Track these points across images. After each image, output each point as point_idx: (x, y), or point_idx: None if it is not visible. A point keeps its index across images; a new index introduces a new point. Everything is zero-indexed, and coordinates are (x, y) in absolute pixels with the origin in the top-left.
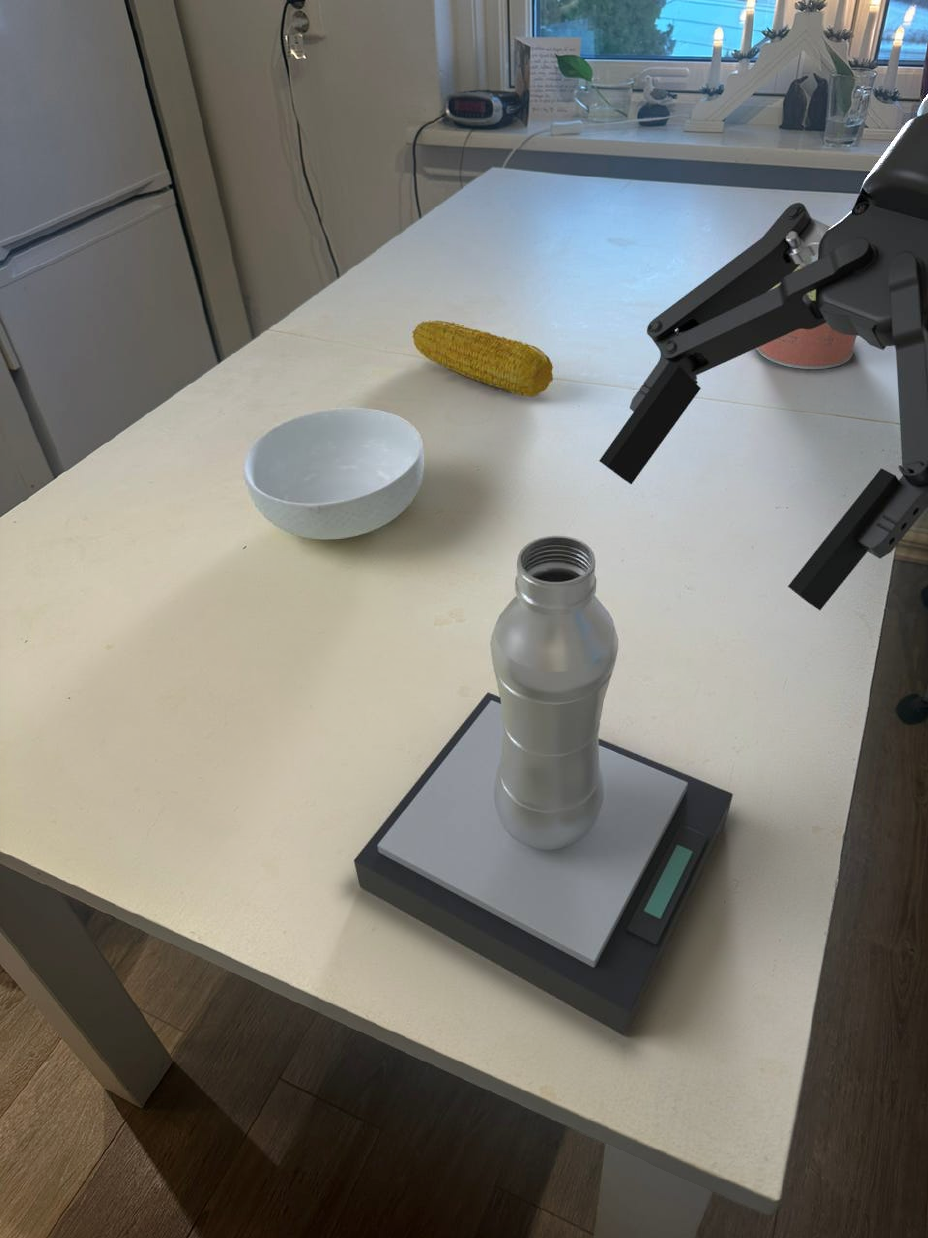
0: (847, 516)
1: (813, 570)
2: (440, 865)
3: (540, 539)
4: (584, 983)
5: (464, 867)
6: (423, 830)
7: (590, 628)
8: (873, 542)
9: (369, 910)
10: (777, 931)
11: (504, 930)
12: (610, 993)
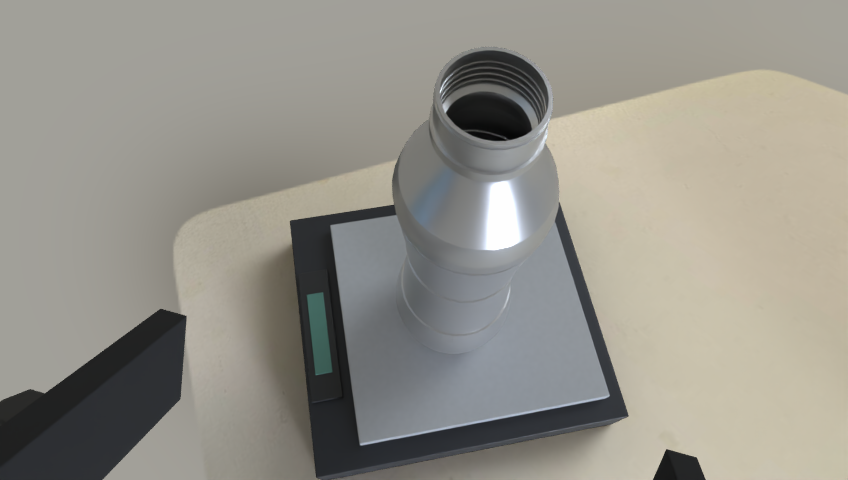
0: (72, 397)
1: (141, 332)
2: None
3: (546, 115)
4: (330, 216)
5: None
6: None
7: (420, 152)
8: (24, 399)
9: None
10: (229, 397)
11: None
12: (309, 223)
